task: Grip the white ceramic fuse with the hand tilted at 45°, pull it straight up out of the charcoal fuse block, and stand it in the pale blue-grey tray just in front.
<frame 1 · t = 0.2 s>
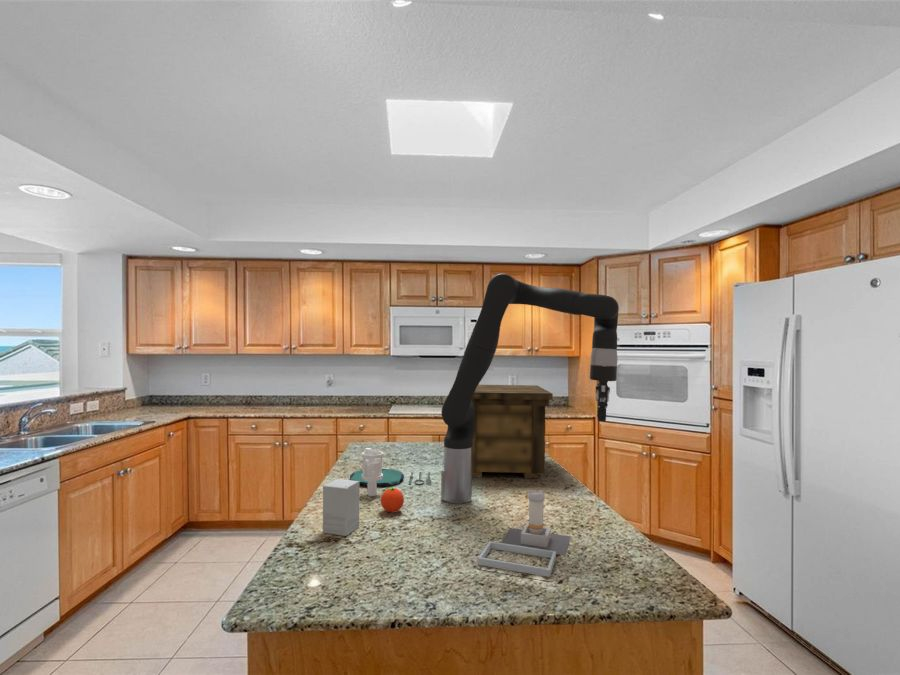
hand: (601, 419, 142), 29 cm above the counter, tool pointing down, fingers open, 8 cm apart
fuse: (535, 540, 122), point 1 cm above the counter, touching fuse block
clementine: (391, 512, 146), on the counter
drinking glass: (371, 495, 162), on the counter
cutlery set: (390, 481, 179), on the counter
fuse block: (535, 545, 122), on the counter
supplement box: (341, 530, 131), on the counter
crate: (500, 469, 197), on the counter
tray: (517, 566, 111), on the counter
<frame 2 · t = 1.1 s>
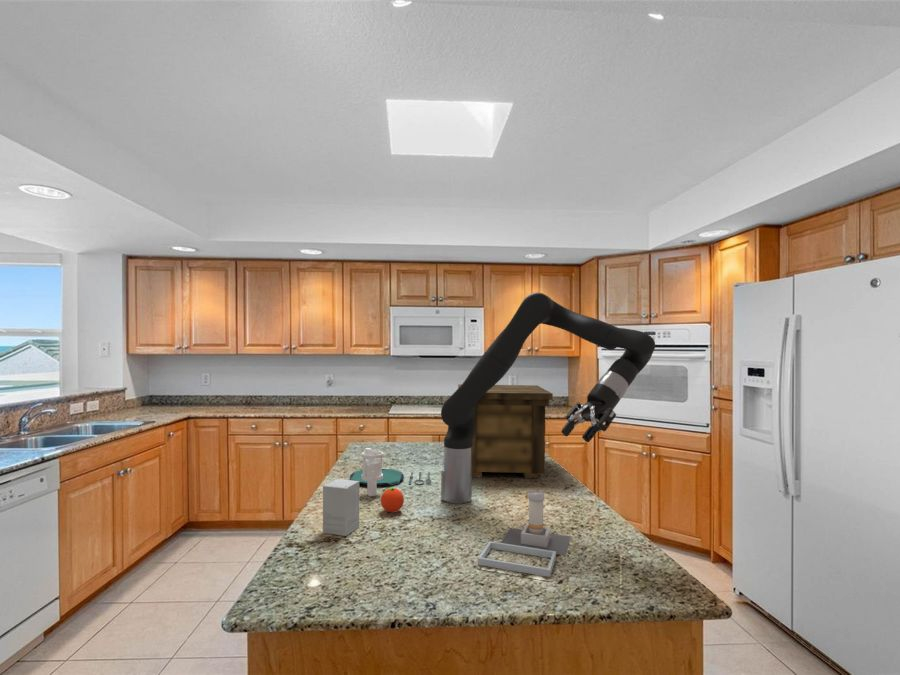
hand: (574, 437, 127), 27 cm above the counter, tool tilted 45°, fingers open, 8 cm apart
nothing on the counter moved.
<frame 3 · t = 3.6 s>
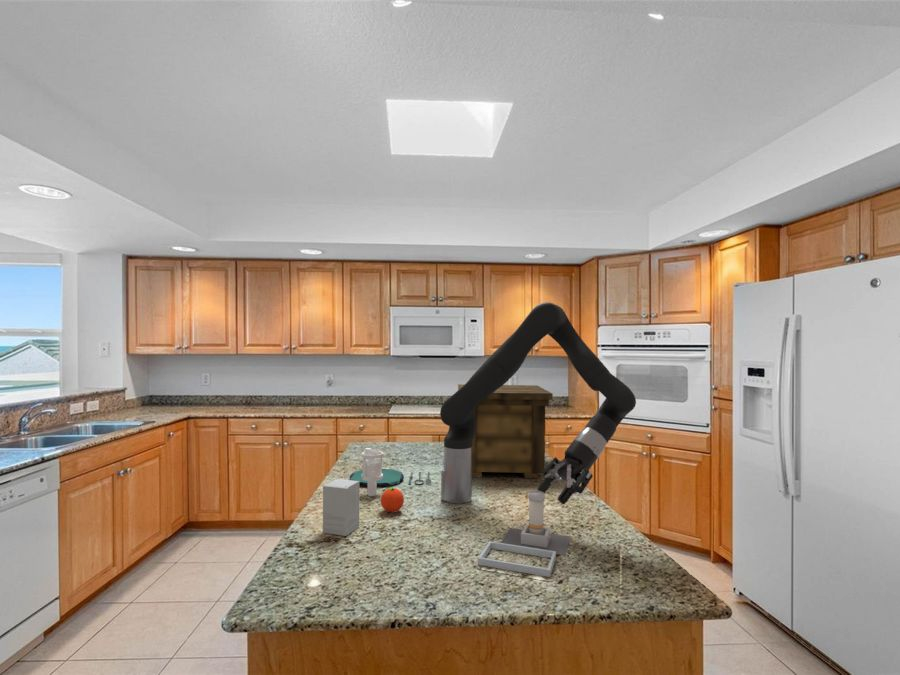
hand: (550, 497, 124), 12 cm above the counter, tool tilted 45°, fingers open, 8 cm apart
nothing on the counter moved.
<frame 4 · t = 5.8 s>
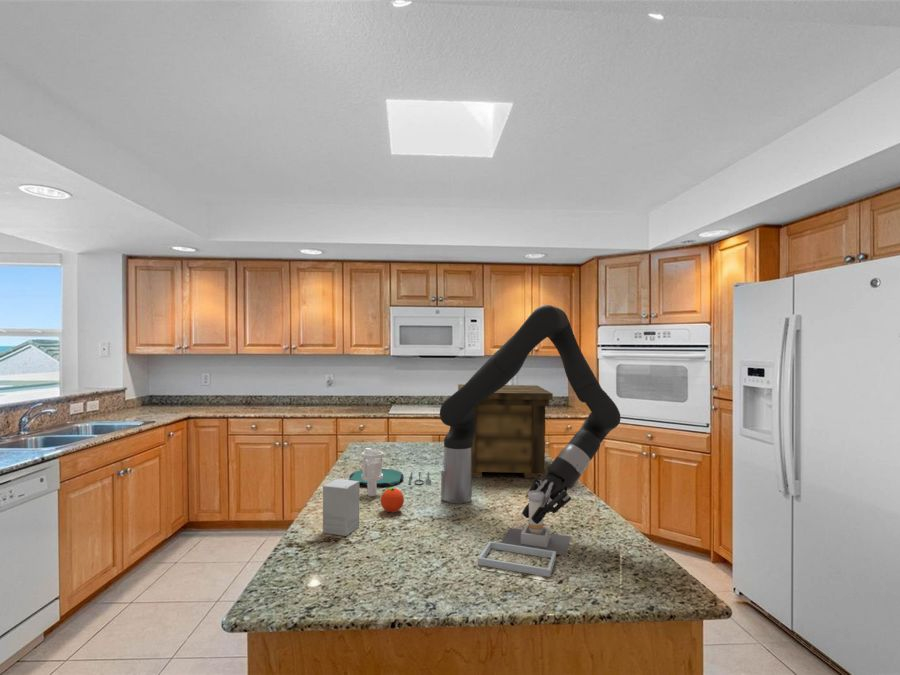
hand: (529, 518, 122), 7 cm above the counter, tool tilted 45°, fingers closed on fuse, 3 cm apart
fuse: (535, 540, 122), point 1 cm above the counter, touching fuse block, gripper
everything else where it was.
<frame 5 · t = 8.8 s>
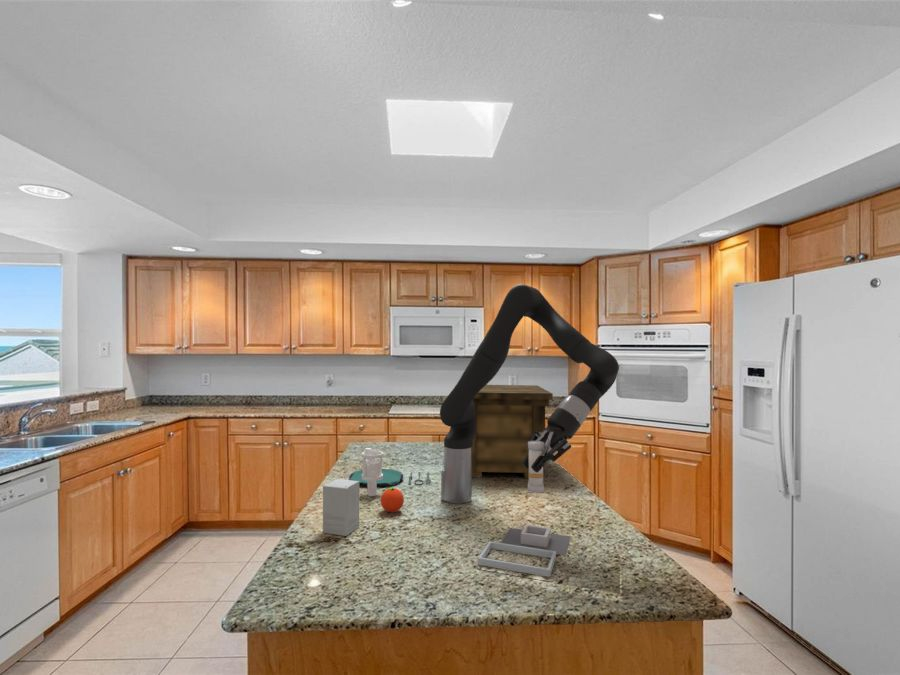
hand: (529, 467, 121), 20 cm above the counter, tool tilted 45°, fingers closed on fuse, 3 cm apart
fuse: (535, 490, 122), point 14 cm above the counter, touching gripper
everything else where it was.
when the fingers open (8 cm above the counter, at t = 12.1 s): fuse drops 2 cm, resting on tray.
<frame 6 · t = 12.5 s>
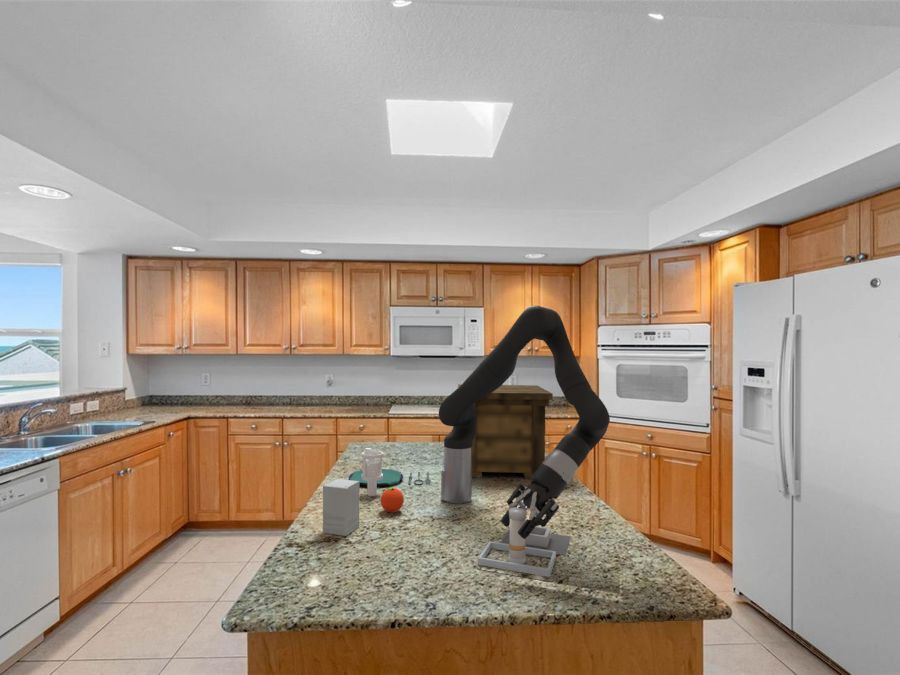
hand: (512, 530, 110), 8 cm above the counter, tool tilted 45°, fingers open, 7 cm apart
fuse: (517, 562, 111), point 1 cm above the counter, touching tray
everything else where it was.
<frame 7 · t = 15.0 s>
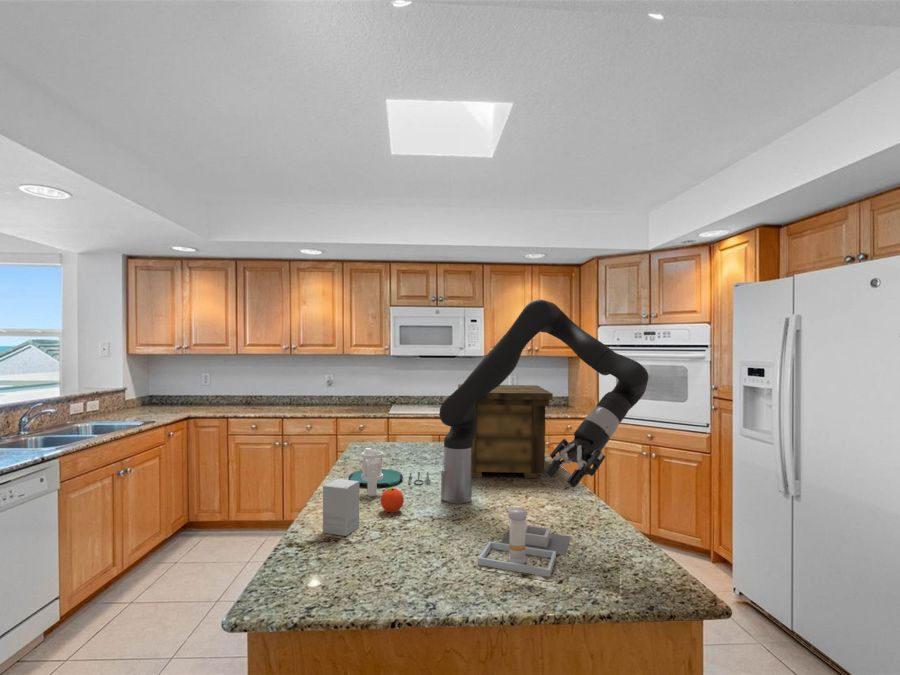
hand: (558, 480, 116), 18 cm above the counter, tool tilted 45°, fingers open, 8 cm apart
nothing on the counter moved.
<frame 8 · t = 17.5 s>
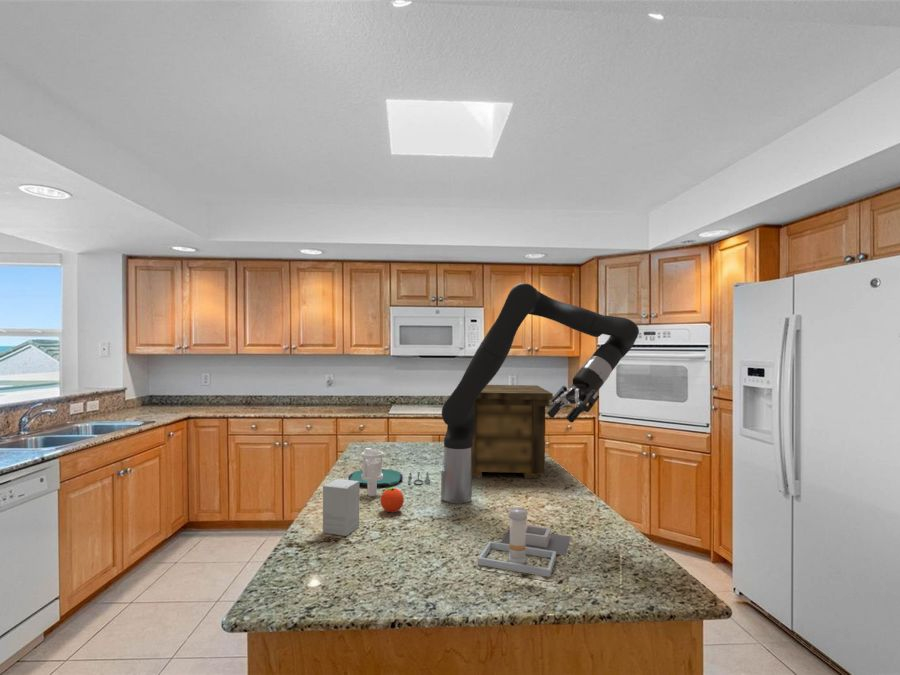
hand: (559, 418, 133), 31 cm above the counter, tool tilted 45°, fingers open, 8 cm apart
nothing on the counter moved.
at the end: fuse inside the target area on the tray (0.4 cm from its centre), point 0.6 cm above the tray's base; the gripper is holding nothing; fuse touching tray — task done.
